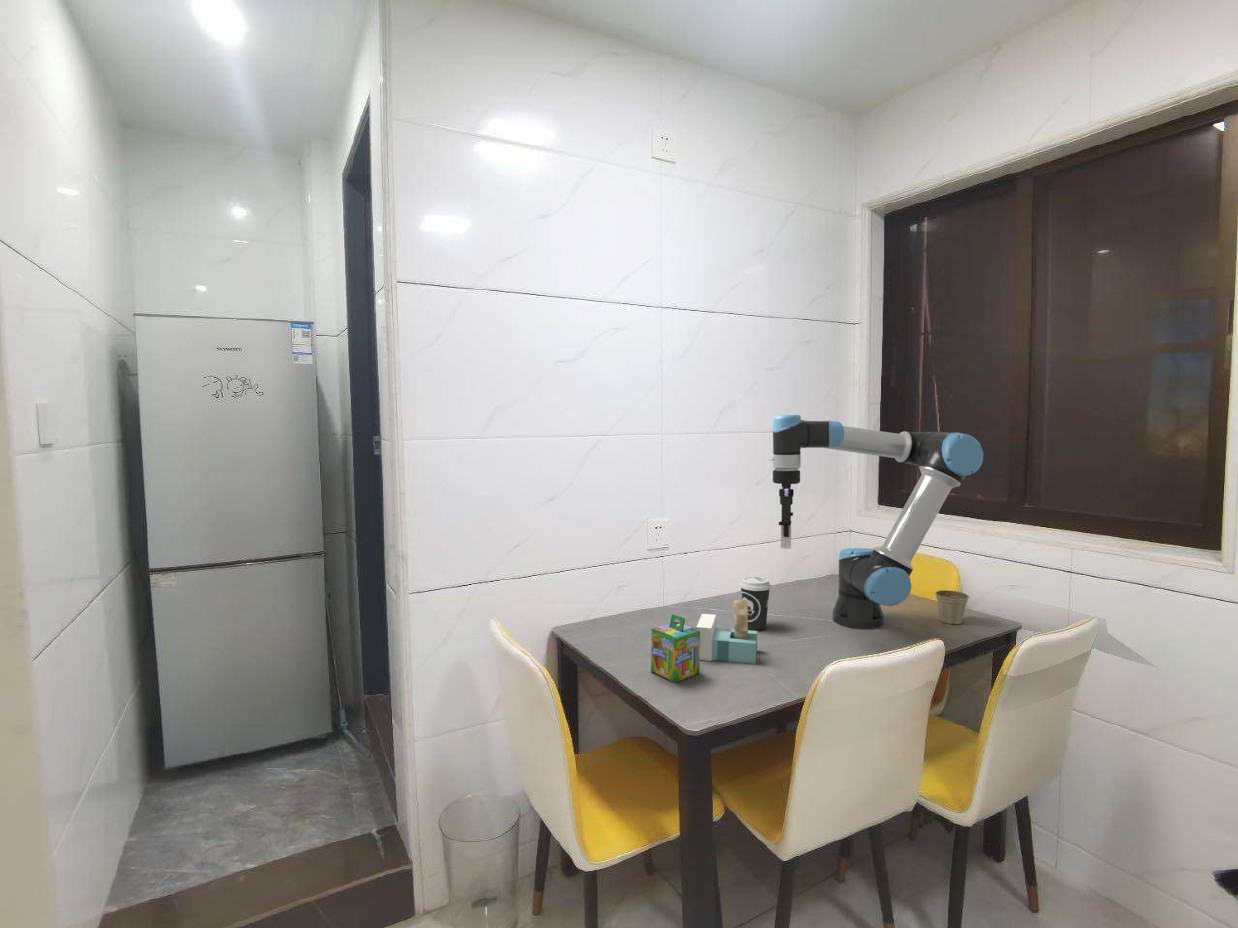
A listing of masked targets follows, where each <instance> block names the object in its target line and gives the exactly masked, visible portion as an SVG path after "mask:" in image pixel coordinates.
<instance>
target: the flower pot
mask: <svg viewBox="0 0 1238 928" xmlns="http://www.w3.org/2000/svg"><path fill="white" fill-rule="evenodd" d="M934 594H935V596H936V600H937V606H938V616H939V620H940V622H942V623H945V624H949V625H952V624H954V625H960V624H962V623H963V620H964V616H965V615H964V614H965V610H966V606H967V603H968V601H969V599H970V595H968V594H966V593H965V592H961V591H956V590H948V589H942V590H940V589H939V590H936V591H935V592H934Z"/></svg>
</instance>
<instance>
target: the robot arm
mask: <svg viewBox="0 0 1238 928" xmlns="http://www.w3.org/2000/svg"><path fill="white" fill-rule="evenodd" d="M801 417H802V416H801V415H800V414H777V415H775V416H774V418H773V422H772V423H773V424H772V450H773V451H772V454H773V455H772V456H773V457H771V458H770V461H771V462H772V468H774V469H773V470H772V482H773V483H774V484H776V485H777V484H779V485H781V488H779V491H778V495H779V504H780V505H781V521H778V526H780V549H789V550H791V549H792V517H793V516H794V512H793V511H792V505H793V501H794V500H793V497H794V489H793V488H791V487H792V485H798V484H799V483H801V470H799V469H800V468H801V467H802V465H801V457H802V456H801V455H802V454H801V452H802V451H801V449H806V448H807V449H808V448H809V449H810V448H811V449H812V448H813V449H815V448H816V449H817V448H819V449H821V448H822V449H829V450H835V451H843V452H848V453H854V454H855V453H856V454H864V455H871V456H878V457H883V458H884V457H885V458H891V459H893V458H894V460H895V461H896V462H898V463H902V464H903V463H904V464H908V465H912V466H916V467H919V470H920V471H919V472H920V473H921V476H920V477H919V479H918V481H917V483H916V484H915V486H914V488H913V490H912V491H911V493H910V495H909V497H908V499H907V501H906V502H905V504H904V505H903V508H902V509H901V511H900V513H899V515H898V517H897V519H896V520H895V522H894V524H893V526H892V528H891V530H890V531H889V533H888V535H887V536H886V539H885V540H884V542H883V544H882V546H880V547H876V548H868V547H867V548H864V547H860V548H859V547H855V548H852V547H850V548H843V549H841V550H840V552H839V555H838V595H837V598H836V601H835V604H834V606H833V609H832V615H831V616H832V621H833V622H835V623H837V625H841V626H845V627H849V628H854V629H863V630H865V629H866V630H868V629H869V630H871V629H877V628H881V627H882V626H884V624H885V622H884V621H885V615H884V613H883V609H882V606H884V607H885V606H886V607H892V606H896V605H899V604H901V603H902V602H904V601H905V600H906V599H907V598H908V597H909V595H910V593H911V590H912V583H911V581H912V580H911V577H910V576H911V575H912V572H913V571H914V567H913V564H912V561H913V558H914V556H915V555H916V553H917V552H918V550H919V547H920V546H921V544H922V542H923V541H924V539H925V536H926V535H927V533H929V530H930V528H931V527H932V524H933V523H934V521H935V519H936V517H937V515H938V514H939V513H940V510H941V509H942V506H943V505H944V503H945V501H946V500H947V498H948V495H949V494H950V492H951V491H952V490H953V488H956V487H957V488H958V487H960V486H961V484H962V483H963V481H964V480H965V477H966V476H970V475H972V474H975V473H977V472H978V471H979V469H980V468H981V466H982V464H983V461H984V450H982V446H981V443H980V442H979V440H978V439H976V438H975V437H974V436H972V435H970V434H967V433H962V432H956V431H955V432H943V431H942V432H940V431H929V432H928V431H925V432H924V431H922V432H919V431H918V432H916V431H915V432H913V431H912V432H911V431H901V432H899V433H896V432H895V433H894V432H888V431H881V430H876V429H875V430H873V429H868V428H861V427H859V428H857V427H853V426H846V425H843V424H842V423H841V422H840V421H839V420H838V421H837V420H803V419H801Z"/></svg>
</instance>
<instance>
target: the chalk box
mask: <svg viewBox="0 0 1238 928" xmlns="http://www.w3.org/2000/svg"><path fill="white" fill-rule="evenodd" d="M669 621H670V622H669V623H667V624H663V625H660V626H657V627H654V628H651V657H650V659H651V661H650V664H651V667H650V672H652V673H654V674H657V675H658V676H660V677H662V678H664V679H666V680H669V681H670V682H673V683H674V684H676V683H678V682H681V681H683V680H686V679H688V678H691V677H693V676H696V675H699V674H700V665H701V664H700V662H701V660H700V631H699V630H697V629H696V627H692V626H690V625H687V624H685V622H686V618H685V617H683V616H681V615H677V614H674V613H673V614H671V617H670V620H669Z"/></svg>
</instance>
